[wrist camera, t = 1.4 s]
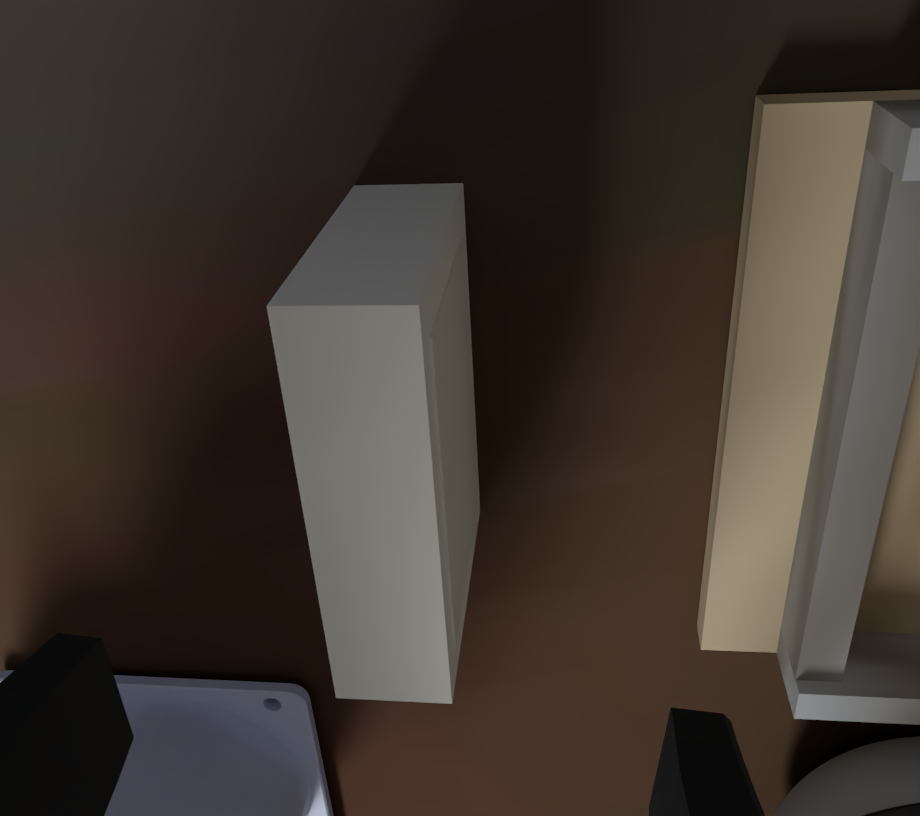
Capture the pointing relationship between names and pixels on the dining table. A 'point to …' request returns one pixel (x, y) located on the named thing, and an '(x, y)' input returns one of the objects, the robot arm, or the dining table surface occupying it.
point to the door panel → (385, 434)
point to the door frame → (824, 410)
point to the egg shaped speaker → (861, 783)
